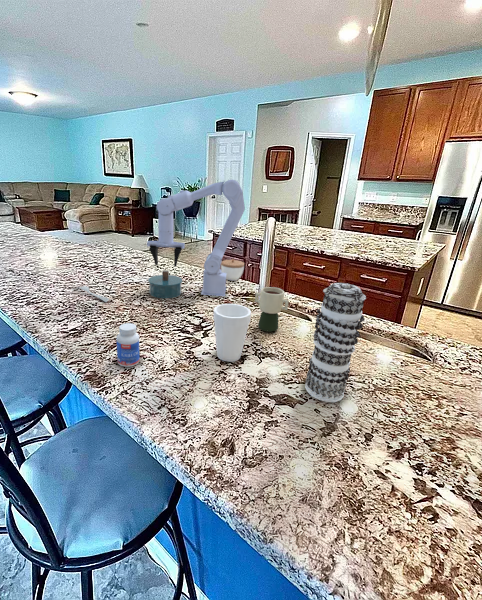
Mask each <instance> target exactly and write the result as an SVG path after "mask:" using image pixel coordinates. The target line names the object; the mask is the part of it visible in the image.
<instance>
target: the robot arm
mask: <svg viewBox="0 0 482 600" xmlns="http://www.w3.org/2000/svg"><path fill="white" fill-rule="evenodd" d="M212 195H217V196H222V195H223V196H224V197H225V198H226V200H227V201H228V203H229V206H230V208H231V209H230V212H229V214H228V216H227V219H226V221H225V223H224V225H223V228H222V229H221V231H220V234H219V235H218V238H217V241H216V243H215V244H214V247H213V248H212V251H211V252H210V253H209V254H208V255H207V256H206V258H205V261H204V263H203V268H204V269H203V274H202V275H203V277H202V278H203V279H202V289H201V292H200V295H203V296H217V297H218V296H219V297H225V296H226V291H227V285H226V284H227V279H226V273H223V272H222V270H221V262H222V261H223V257H224V255H225V252H226V251H227V248H228V246H229V245H230V242H231V240H232V238H233V236H234V234H235V231H236V229H237V228H238V225H239V223H240V221H241V219H242V216H243V214H244V212H245V210H246V205H245V198H244V191H243V189H242V187H241V185H240V183H239V182H238V180H236V179H228V180H226V181H225V180H223V181H218V182H213V183H211V184H208V185H206V186H204V187H202V188H198V189H197V190H194V191H189V190H187V189H185V190H184V189H181V190H179V192H178V193H175V194H173V195H172V194H169V195H167V197H165V198H164V197H163V198H161V199H159V200H158V202H157V204H156V210H157V212H158V218H157V221H158V225H157V226H158V228H157V229H158V231H157V232H158V240H147V241H146V247H147V248H148V249H149V252H150V254H151V256H152V258H153V261H154V265H155V266H158V264H159V256H158V255H159V248H169V249H174V250H173V254H174V259H173V260H174V262H173V267H177V266H178V261H179V257H180V255H181V252H182V250H184V249H185V248H186V247H185V246H186V243H185V242H179V241H174V212H178V211H180V210H183V209H186V208H189V207H191V206H193V203H194V201H198V200H201V199H203V198H206V197H208V196H209V197H210V196H212Z"/></svg>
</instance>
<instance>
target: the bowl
mask: <svg viewBox="0 0 482 600" xmlns="http://www.w3.org/2000/svg"><path fill="white" fill-rule="evenodd" d="M148 288H149V290H148V291H149V295H150V296H152V297H154V298H158V299H173V298H177V297H179V296H181V295H182V283H181V284H179V285H175V286H156V285H153V284H150V283H149V282H148Z"/></svg>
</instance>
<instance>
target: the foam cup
mask: <svg viewBox="0 0 482 600" xmlns="http://www.w3.org/2000/svg"><path fill="white" fill-rule="evenodd" d="M251 315H252V311H251V309H250V308H249V307H248V306H244V305H242V304H237V303H222V304H218V305H216V306H215V307H214V308H213V317H212V319H213V323H214V335H215V348H216V356H217V358H218V359H220V360H221V361H222V362H223V361H224V362H227V363H232V362H237V361H239V360H240V359H241V356H242V355H243V354H242V353H243V350H244V345H245V341H246V337H247V333H248V329H249V325H250V323H251Z"/></svg>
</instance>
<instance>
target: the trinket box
mask: <svg viewBox="0 0 482 600" xmlns="http://www.w3.org/2000/svg"><path fill="white" fill-rule="evenodd" d="M220 269H221V270H222V272H223V273H226V281H233V282H234V281H238V280H239V279H240V278H241V277H242V276H243V274H244V270H245V262H244V261H241V260H238V259H237V260H236V259H235V258H232V259H225V260H222V262H221V265H220Z"/></svg>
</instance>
